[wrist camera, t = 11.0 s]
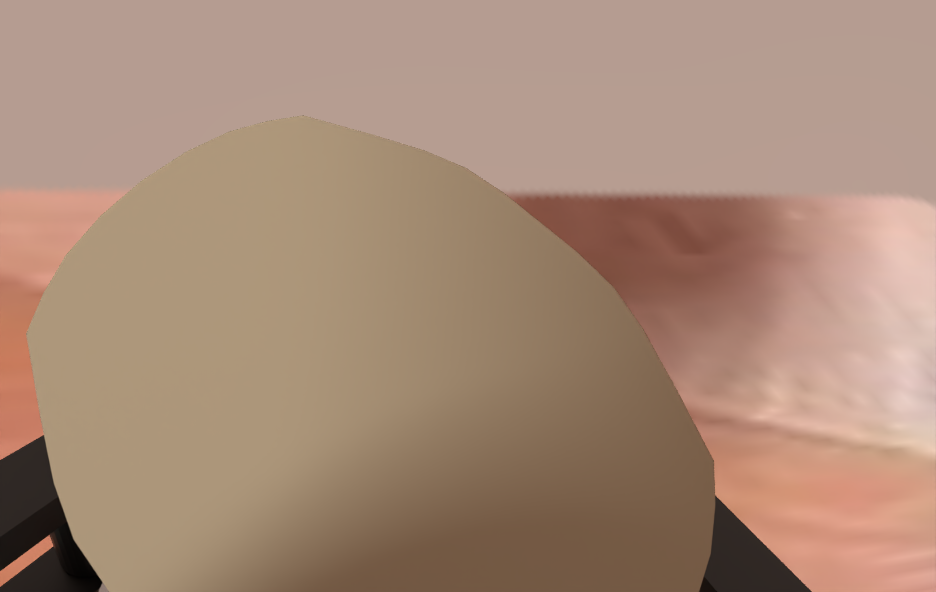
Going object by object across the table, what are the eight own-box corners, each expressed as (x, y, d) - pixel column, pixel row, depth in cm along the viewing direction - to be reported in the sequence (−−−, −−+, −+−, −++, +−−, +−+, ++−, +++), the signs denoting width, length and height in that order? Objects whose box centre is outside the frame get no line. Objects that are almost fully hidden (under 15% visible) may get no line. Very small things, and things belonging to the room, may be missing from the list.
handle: (392, 345, 20) (321, 47, 6) (518, 459, 19) (803, 434, 5) (300, 441, 18) (-99, 359, 4) (430, 569, 18) (469, 998, 3)
